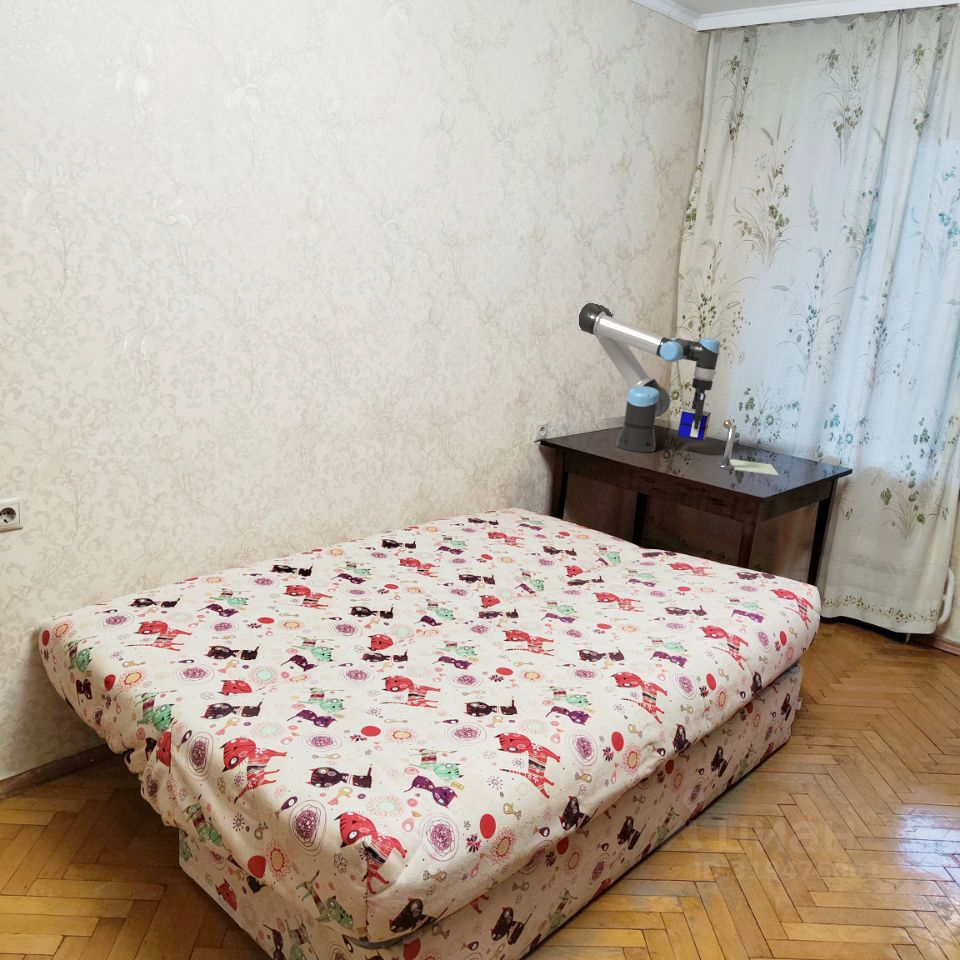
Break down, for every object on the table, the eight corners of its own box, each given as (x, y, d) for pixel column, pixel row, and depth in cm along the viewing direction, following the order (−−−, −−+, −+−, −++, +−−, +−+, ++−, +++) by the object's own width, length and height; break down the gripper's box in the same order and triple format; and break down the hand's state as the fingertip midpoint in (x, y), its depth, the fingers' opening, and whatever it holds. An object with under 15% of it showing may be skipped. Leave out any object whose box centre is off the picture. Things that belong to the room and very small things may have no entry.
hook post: (718, 468, 329) (725, 427, 325) (713, 457, 346) (720, 418, 342) (734, 470, 329) (742, 429, 324) (728, 459, 345) (735, 420, 341)
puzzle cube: (677, 435, 348) (682, 411, 345) (681, 431, 357) (685, 407, 354) (702, 441, 345) (707, 416, 342) (706, 436, 354) (711, 412, 351)
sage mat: (734, 469, 330) (734, 468, 330) (728, 459, 345) (729, 458, 345) (778, 475, 328) (778, 474, 328) (771, 465, 343) (771, 464, 343)
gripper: (716, 384, 333) (704, 441, 339) (710, 375, 355) (699, 428, 361) (696, 381, 334) (685, 438, 340) (691, 372, 356) (680, 426, 362)
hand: (692, 433), depth 351 cm, fingers closed on puzzle cube, 11 cm apart
